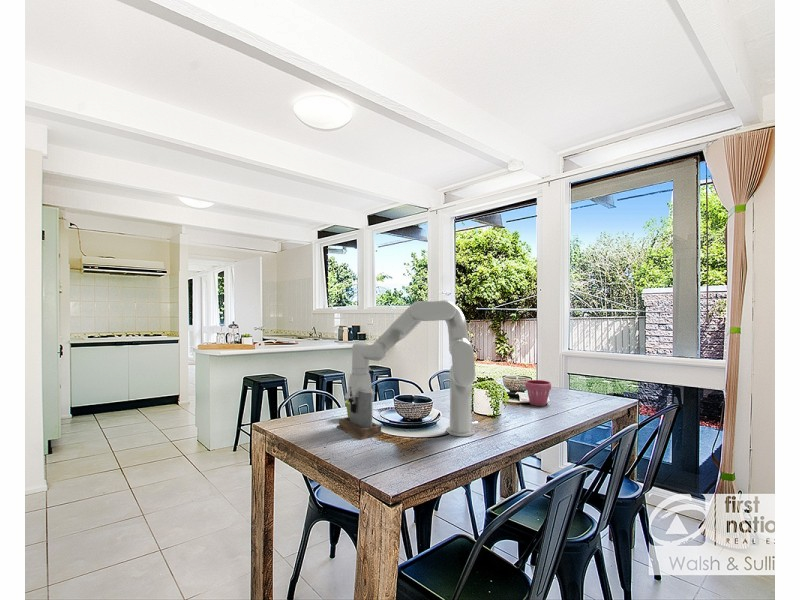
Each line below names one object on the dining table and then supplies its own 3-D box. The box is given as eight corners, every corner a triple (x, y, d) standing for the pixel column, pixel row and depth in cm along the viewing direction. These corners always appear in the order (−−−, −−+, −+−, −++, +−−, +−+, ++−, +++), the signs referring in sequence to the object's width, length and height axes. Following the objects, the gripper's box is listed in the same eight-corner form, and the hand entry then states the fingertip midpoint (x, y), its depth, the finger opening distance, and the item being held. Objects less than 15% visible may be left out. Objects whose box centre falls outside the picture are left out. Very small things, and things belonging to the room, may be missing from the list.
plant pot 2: (520, 401, 251) (520, 379, 251) (542, 400, 254) (542, 379, 254) (533, 407, 237) (533, 384, 237) (555, 406, 240) (556, 383, 240)
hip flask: (373, 432, 185) (373, 386, 185) (365, 434, 183) (366, 387, 182) (354, 423, 198) (354, 380, 198) (346, 425, 195) (346, 381, 195)
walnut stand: (359, 423, 202) (359, 415, 202) (383, 434, 186) (383, 425, 186) (336, 427, 195) (336, 419, 195) (359, 439, 179) (360, 430, 179)
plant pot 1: (341, 420, 206) (341, 402, 206) (349, 415, 215) (349, 398, 215) (358, 422, 203) (359, 404, 203) (366, 417, 212) (366, 400, 212)
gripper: (371, 368, 198) (371, 406, 198) (339, 371, 188) (338, 412, 188) (381, 370, 192) (380, 410, 192) (347, 374, 182) (347, 416, 182)
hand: (359, 410), depth 190 cm, fingers open, 6 cm apart
